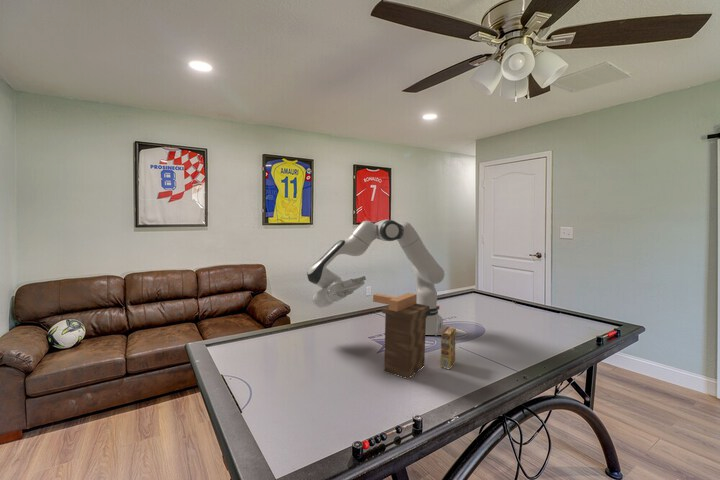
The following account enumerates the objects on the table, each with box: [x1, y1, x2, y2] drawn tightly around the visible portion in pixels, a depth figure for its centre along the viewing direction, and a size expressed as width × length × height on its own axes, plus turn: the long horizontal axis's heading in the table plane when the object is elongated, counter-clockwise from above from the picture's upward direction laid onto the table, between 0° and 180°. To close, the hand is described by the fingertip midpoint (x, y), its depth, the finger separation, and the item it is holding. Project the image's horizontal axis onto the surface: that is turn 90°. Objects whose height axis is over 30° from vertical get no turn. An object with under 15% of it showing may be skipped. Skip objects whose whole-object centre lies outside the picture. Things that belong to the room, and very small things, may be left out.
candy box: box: [440, 326, 457, 369], centre depth 143 cm, size 9×4×15 cm, turn 150°
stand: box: [381, 304, 429, 379], centre depth 138 cm, size 16×13×26 cm
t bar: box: [372, 292, 417, 312], centre depth 141 cm, size 16×16×4 cm
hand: (358, 279), depth 151 cm, fingers open, 8 cm apart
